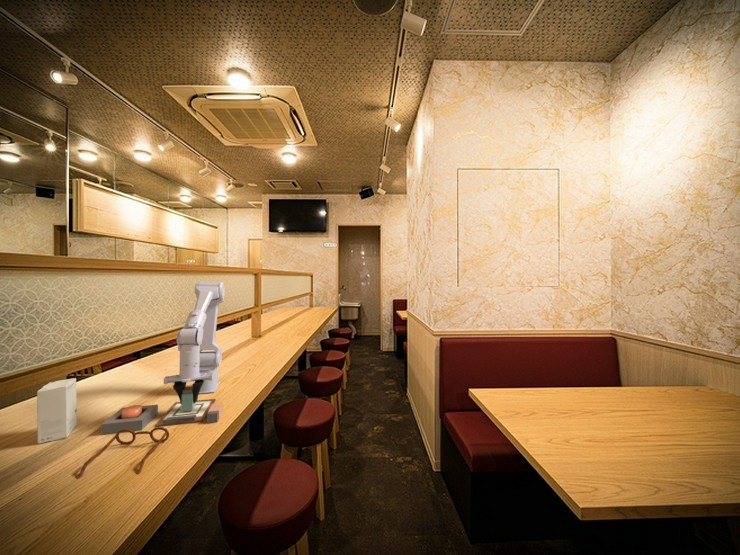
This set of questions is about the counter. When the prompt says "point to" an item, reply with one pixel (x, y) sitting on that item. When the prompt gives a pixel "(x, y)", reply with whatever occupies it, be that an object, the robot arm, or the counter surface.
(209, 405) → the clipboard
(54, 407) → the skincare box
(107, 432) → the button housing
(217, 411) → the terracotta marker
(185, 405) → the block
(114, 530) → the counter surface
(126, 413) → the button
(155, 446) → the glasses
